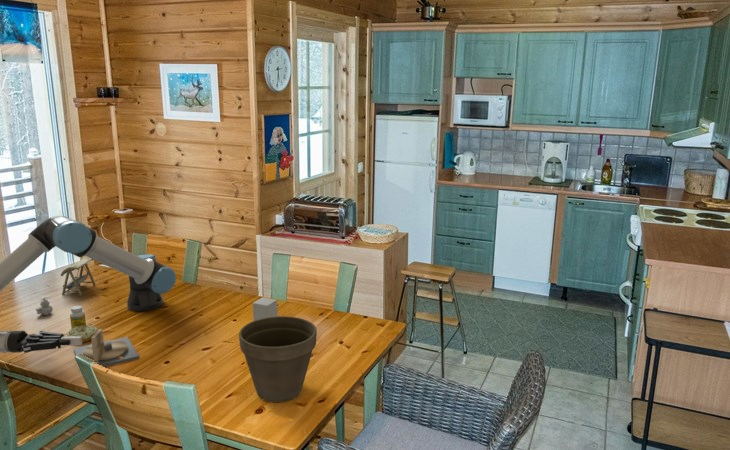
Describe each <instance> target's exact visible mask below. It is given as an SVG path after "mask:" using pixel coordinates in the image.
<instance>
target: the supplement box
mask: <svg viewBox="0 0 730 450" xmlns="http://www.w3.org/2000/svg"><path fill="white" fill-rule="evenodd" d="M252 316H253V319H252V321H255V320H258V319H262V318H267V317H275V316H278V299H274V298H268V297H261V298H259V299H257V300H255V301H253V302H252Z"/></svg>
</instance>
